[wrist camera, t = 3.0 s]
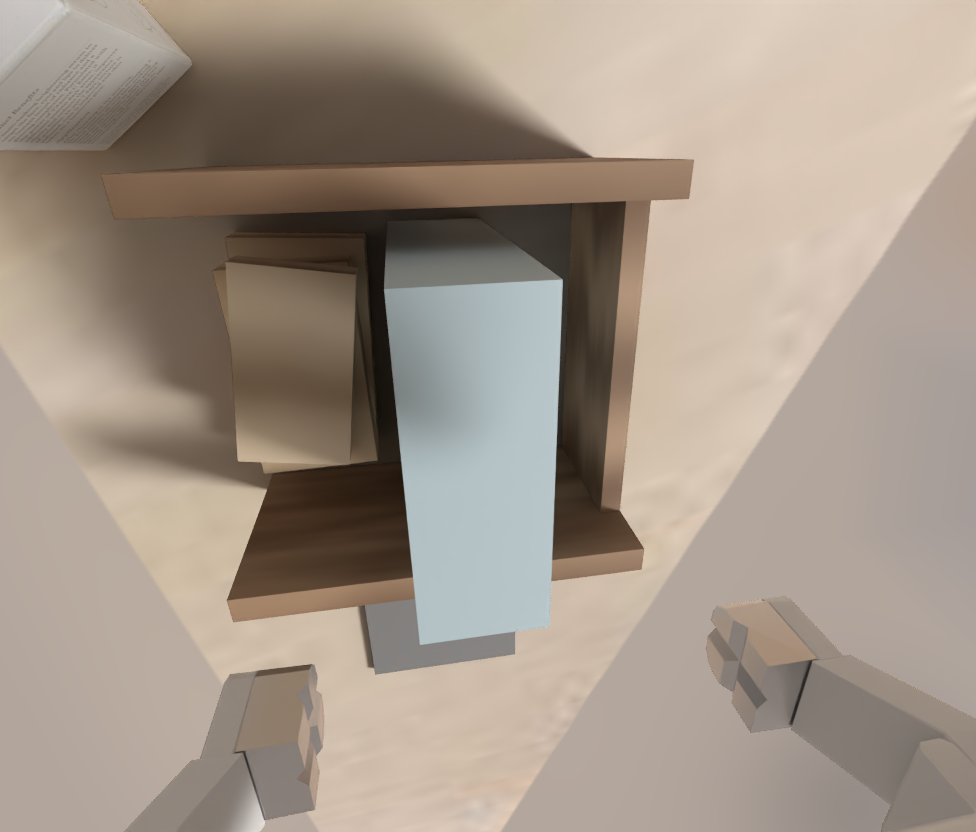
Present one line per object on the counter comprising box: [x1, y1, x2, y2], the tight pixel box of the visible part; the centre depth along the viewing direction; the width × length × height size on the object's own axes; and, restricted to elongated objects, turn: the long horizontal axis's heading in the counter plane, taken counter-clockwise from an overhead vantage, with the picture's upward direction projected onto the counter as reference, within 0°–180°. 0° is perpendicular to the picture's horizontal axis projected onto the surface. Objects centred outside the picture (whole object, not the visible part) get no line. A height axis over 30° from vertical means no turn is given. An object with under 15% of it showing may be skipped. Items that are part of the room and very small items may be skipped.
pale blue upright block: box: [384, 218, 563, 645], centre depth 23 cm, size 12×4×15 cm, turn 1°
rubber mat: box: [365, 599, 515, 675], centre depth 37 cm, size 14×10×1 cm
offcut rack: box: [101, 158, 694, 622], centre depth 25 cm, size 17×18×10 cm
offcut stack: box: [212, 233, 378, 474], centre depth 27 cm, size 11×6×5 cm, turn 178°
